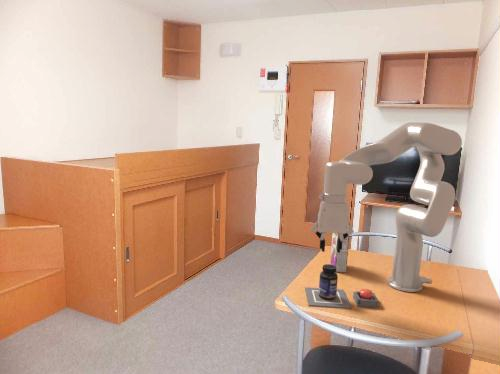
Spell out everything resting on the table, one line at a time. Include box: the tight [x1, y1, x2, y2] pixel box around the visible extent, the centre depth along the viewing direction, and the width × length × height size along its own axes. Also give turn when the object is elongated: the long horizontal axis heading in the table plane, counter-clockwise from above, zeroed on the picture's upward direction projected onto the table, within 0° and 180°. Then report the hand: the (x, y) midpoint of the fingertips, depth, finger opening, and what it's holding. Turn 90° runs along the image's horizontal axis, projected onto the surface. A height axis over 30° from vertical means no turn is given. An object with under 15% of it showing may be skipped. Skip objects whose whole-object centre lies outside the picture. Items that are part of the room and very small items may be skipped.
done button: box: [360, 288, 373, 299], centre depth 130 cm, size 4×4×2 cm
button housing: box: [352, 290, 380, 308], centre depth 131 cm, size 7×7×2 cm
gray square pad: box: [304, 286, 352, 310], centre depth 133 cm, size 14×14×1 cm
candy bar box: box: [330, 233, 350, 273], centre depth 161 cm, size 11×5×16 cm, turn 179°
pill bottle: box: [318, 263, 339, 300], centre depth 132 cm, size 6×6×11 cm
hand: (330, 250), depth 130 cm, fingers open, 4 cm apart
